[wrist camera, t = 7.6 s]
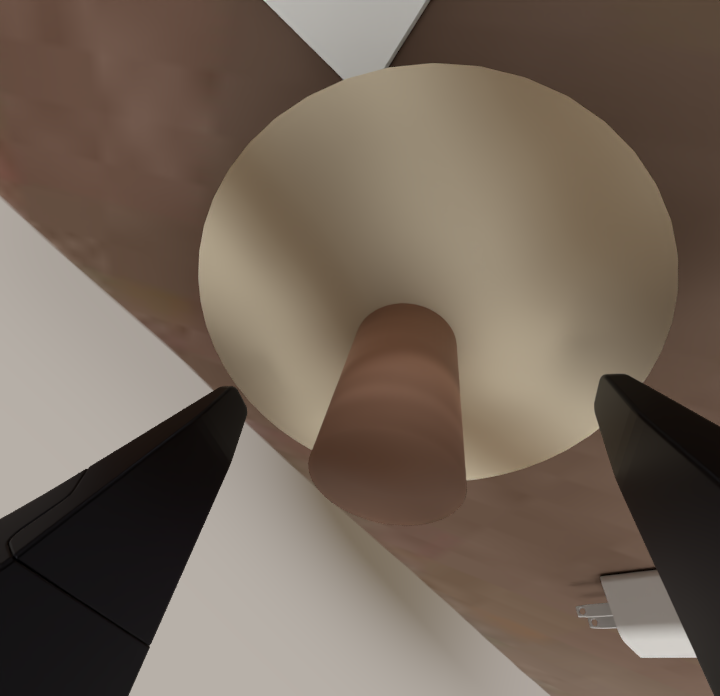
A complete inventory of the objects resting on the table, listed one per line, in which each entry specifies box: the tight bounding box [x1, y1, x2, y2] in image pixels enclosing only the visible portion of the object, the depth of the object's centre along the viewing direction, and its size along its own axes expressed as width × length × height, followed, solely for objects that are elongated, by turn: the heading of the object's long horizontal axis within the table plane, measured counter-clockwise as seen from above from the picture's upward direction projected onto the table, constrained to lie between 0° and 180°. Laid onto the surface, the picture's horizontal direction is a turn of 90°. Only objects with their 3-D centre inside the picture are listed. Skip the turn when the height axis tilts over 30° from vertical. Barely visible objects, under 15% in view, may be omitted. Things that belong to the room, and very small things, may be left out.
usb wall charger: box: [576, 570, 697, 658], centre depth 24 cm, size 4×7×4 cm, turn 133°
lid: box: [198, 63, 678, 526], centre depth 9 cm, size 13×13×6 cm
